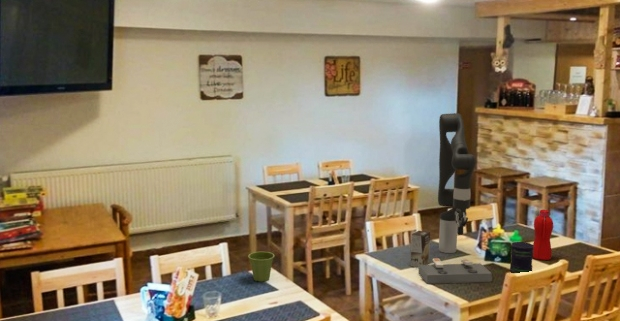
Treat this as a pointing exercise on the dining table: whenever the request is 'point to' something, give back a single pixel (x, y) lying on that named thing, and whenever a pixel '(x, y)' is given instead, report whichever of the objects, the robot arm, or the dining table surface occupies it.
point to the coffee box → (420, 248)
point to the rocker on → (466, 262)
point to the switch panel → (454, 273)
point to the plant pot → (261, 265)
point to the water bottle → (542, 236)
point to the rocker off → (437, 262)
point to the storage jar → (521, 257)
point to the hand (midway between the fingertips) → (460, 234)
